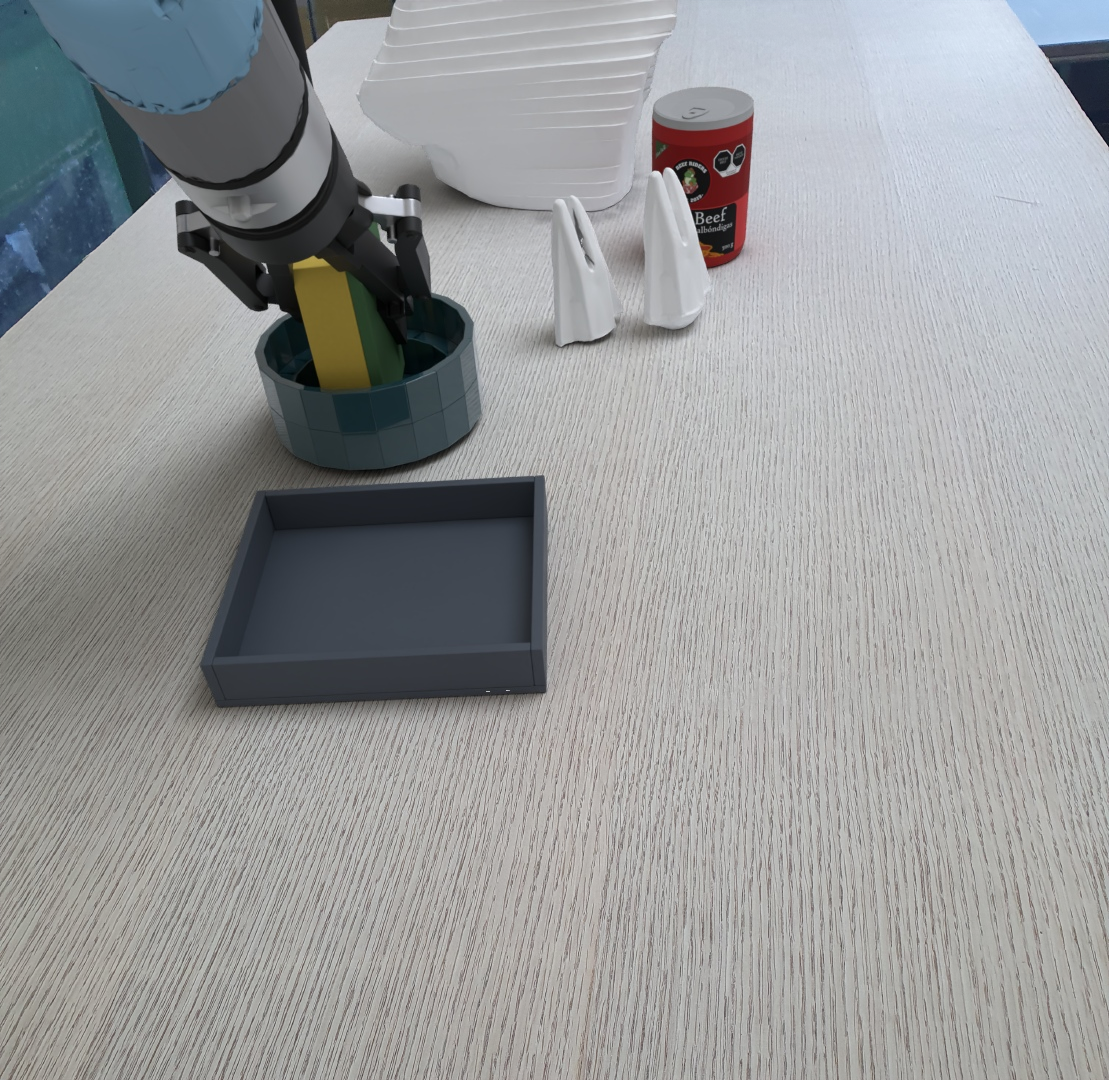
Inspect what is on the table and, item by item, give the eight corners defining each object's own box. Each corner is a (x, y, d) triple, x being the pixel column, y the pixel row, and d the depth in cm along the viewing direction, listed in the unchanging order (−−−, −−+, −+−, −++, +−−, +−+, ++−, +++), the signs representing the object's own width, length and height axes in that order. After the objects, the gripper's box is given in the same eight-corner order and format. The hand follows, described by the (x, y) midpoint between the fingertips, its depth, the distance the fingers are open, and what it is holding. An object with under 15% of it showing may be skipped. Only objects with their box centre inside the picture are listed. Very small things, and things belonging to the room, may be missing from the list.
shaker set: (709, 308, 83) (715, 152, 75) (717, 334, 80) (725, 175, 72) (553, 321, 83) (542, 167, 75) (556, 348, 80) (545, 191, 72)
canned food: (640, 266, 88) (640, 118, 80) (665, 226, 93) (667, 83, 85) (733, 274, 86) (742, 123, 78) (753, 232, 91) (764, 87, 83)
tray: (216, 707, 56) (199, 665, 54) (269, 531, 66) (256, 490, 64) (546, 692, 55) (542, 649, 53) (547, 516, 66) (544, 474, 63)
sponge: (333, 436, 71) (289, 268, 63) (349, 368, 77) (311, 207, 69) (393, 431, 70) (357, 262, 62) (405, 363, 77) (373, 201, 69)
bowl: (261, 483, 70) (235, 399, 66) (296, 373, 80) (276, 294, 75) (478, 471, 69) (467, 386, 65) (487, 362, 79) (478, 281, 75)
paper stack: (672, 215, 95) (679, -162, 76) (373, 223, 98) (308, -138, 79) (677, 130, 109) (683, -206, 90) (415, 139, 112) (369, -184, 93)
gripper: (83, 247, 51) (247, 388, 74) (440, 223, 50) (493, 374, 74) (74, 85, 51) (241, 278, 74) (433, 59, 50) (488, 263, 73)
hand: (366, 326), depth 74 cm, fingers closed on sponge, 4 cm apart
